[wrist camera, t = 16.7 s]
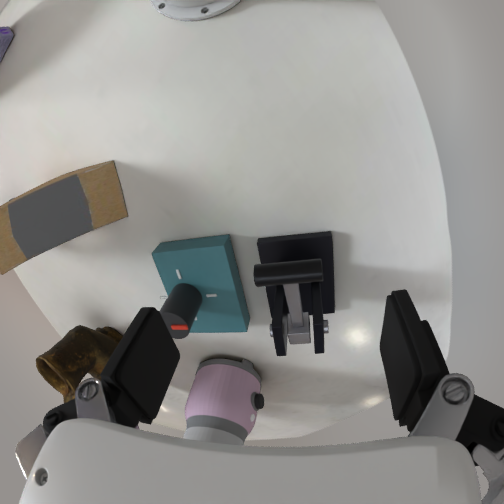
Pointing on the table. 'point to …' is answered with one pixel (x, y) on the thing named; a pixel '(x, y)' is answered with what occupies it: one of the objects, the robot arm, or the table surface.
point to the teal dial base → (206, 281)
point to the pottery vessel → (77, 358)
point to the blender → (223, 402)
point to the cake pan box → (4, 39)
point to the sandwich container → (59, 213)
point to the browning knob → (181, 309)
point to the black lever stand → (312, 294)
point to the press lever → (292, 291)
